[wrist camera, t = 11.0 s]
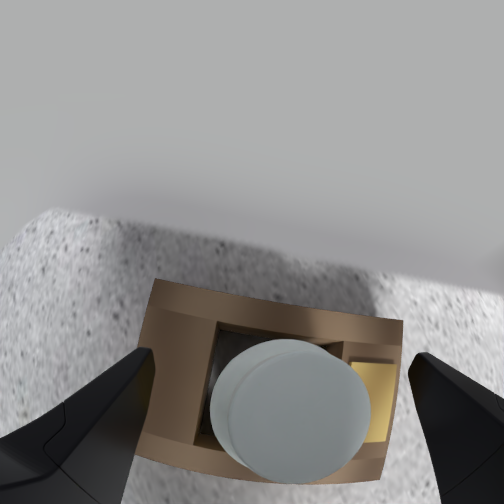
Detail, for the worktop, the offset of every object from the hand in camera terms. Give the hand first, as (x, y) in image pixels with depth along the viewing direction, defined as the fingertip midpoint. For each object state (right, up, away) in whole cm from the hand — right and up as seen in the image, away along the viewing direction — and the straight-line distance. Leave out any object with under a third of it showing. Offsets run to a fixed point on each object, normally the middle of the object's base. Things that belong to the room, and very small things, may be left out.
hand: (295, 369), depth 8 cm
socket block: (-1, -5, +7) cm, 8 cm away
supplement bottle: (-1, -5, +7) cm, 8 cm away
